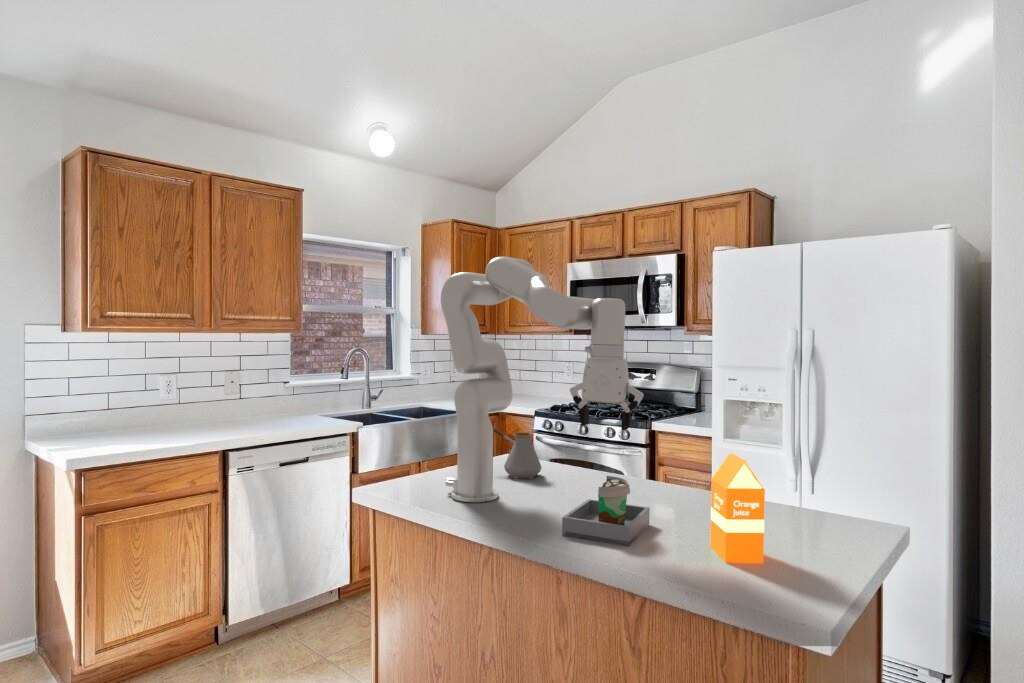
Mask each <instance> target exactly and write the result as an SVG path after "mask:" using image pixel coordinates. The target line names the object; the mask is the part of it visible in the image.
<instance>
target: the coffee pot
mask: <svg viewBox="0 0 1024 683" xmlns="http://www.w3.org/2000/svg"><path fill="white" fill-rule="evenodd" d="M493 433H495V434H496V435H498V436H500V437H501V438H504V439H505V440H506V441H508V442H510V443H512V447H511V449H510V451H509V454H508V457H507V459H506V461H505V463H504V470H505V472H506V473H507V474H508V475H509V477H511V476H512V477H511V478H513V477H516V478H515V479H518V478H529V479H532V478H531V477H534V476H535V477H536V475H538V474H539V473H540V472H541V470H542V464H541V462H540V460H539V458H538V455H537V453H536V452H537V451H536V449H535V447H534V444H533V442H532V440H533V437H534V434H533V433H531V432H516V433H512V436H513V438H514V440H513V439H512V438H510V437H509V436H507V435H505V434H504V433H503V432H501V431H500V430H499V429H497V428H495V427H493ZM535 477H534V478H535Z"/></svg>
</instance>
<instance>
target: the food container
mask: <svg viewBox="0 0 1024 683" xmlns="http://www.w3.org/2000/svg"><path fill="white" fill-rule="evenodd" d="M597 492H598V494H597V497H598V500H599V522H604V523H611V524H617V525H624V524H625V513H626V504H627V500H628V495H629V494H630V493H631V488H630V484H629V482H628V481H627V480H626V479H624V478H622V477H618V476H611V475H606V481H605V482H603V483H602V486H598V490H597Z"/></svg>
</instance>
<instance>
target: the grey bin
mask: <svg viewBox="0 0 1024 683" xmlns="http://www.w3.org/2000/svg"><path fill="white" fill-rule="evenodd" d="M650 511H651V510H650V507H648V506H643V505H642V506H641V505H633V504H627V503H626V513H625V524H624V525H617V524H611V523H604V522H599V499H598V500H597V499H591V498H587V499H586V500H585V501H584V502H582V503H581V504H579V505H578V506H576V507H575V508H574V509H572V510H570V511H569V512H568V513H566V514H565V515H563V516H562V521H561V522H562V523H561V524H562V525H561V536H563V537H570V538H576V539H583V540H588V541H593V542H600V543H605V544H611V545H618V546H625V547H631V545H632V544H633V543H634V542H635V541H636V539H638V538H639V537H640V536H641V534H642V533H643V532H644V531H645V530H646V529H647V528H648V527H649V526H648V525H650V516H651V515H650V514H651V513H650ZM647 526H648V527H647ZM646 527H647V528H646Z"/></svg>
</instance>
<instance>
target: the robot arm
mask: <svg viewBox="0 0 1024 683" xmlns="http://www.w3.org/2000/svg"><path fill="white" fill-rule="evenodd" d="M484 270H485V271H484V273H477V272H466V271H462V272H458V273H454V274H452V275H450V276H449V277H448V278H447V279H446V281H445V282H444V284H443V286H442V288H441V291H440V292H441V293H440V305H441V309H442V310H441V311H442V314H443V317H444V321H445V323H446V327H447V335H448V340H449V345H450V350H451V355H452V356H451V357H452V362H453V365H454V368H455V369H456V371H457V372H458V373H459V374H462V375H480V376H481V377H479V378H477V377H476V378H471V379H470V378H469V379H466V380H464V381H462V382H461V383H460V384H458V385H457V387H456V388H455V390H454V397H453V401H454V407H455V411H456V412H455V413H456V419H457V421H456V422H457V462H456V464H457V466H456V467H457V468H456V469H457V470H456V471H457V472H456V475H457V476H456V477H457V478H453V477H447V478H446V479H445V480H446V481H445V486H446V487H452V488H453V489H452V490H451V493H450V494H451V495H450V497H451V498H452V499H453V500H456V501H458V502H464V503H485V501H487V502H491V501H494V500H496V499H497V498H498V497H499V491H498V490H496V489H495V488H493V486H494V485H493V484H494V483H493V482H494V481H493V479H494V471H493V470H494V432H493V428H494V427H493V424H492V421H491V418H490V415H489V413H496V412H501V411H504V410H506V409H507V408H509V406H510V405H511V404H512V400H513V385H512V380H511V375H510V370H509V369H510V368H509V365H508V359H507V354H506V352H505V349H504V348H503V347H502V345H501V343H499V342H498V341H496V340H494V339H491V338H490V339H488V338H483V337H482V335H481V331H480V325H479V321H478V319H477V317H476V314H475V313H474V312H473V310H472V309H471V307H470V305H476V306H477V305H478V306H479V305H480V306H494V305H498V304H500V303H502V302H503V303H504V301H508V300H509V299H512V298H513V299H515V300H517V301H518V302H521V303H522V304H525V306H526V307H527V309H529V312H531V313H532V314H533V315H534V316H536V317H537V318H540V320H542V321H544V322H546V323H548V324H550V325H552V326H554V327H556V328H558V329H562V330H584V331H585V330H590V344H589V345H588V346H585V347H584V352H585V353H588V354H589V356H590V357H586V360H585V364H584V368H583V376H582V381H581V383H579V384H576V385H574V386H572V387H570V388H569V393H570V394H571V397H572V399H573V401H574V403H575V404H576V405H577V407H578V408H579V422H580V425H581V427H585V426H587V425H589V424H590V423H589V420H590V419H589V418H590V417H589V416H590V408H589V407H588V405H589V404H590V403H591V402H592V403H600V404H601V403H602V404H603V403H604V404H613V405H614V404H615V405H616V404H618V405H619V406H621V408H622V409H623V412H622V413H621V430H622V431H627V430H629V427H631V425H632V424H631V423H632V412H633V411H634V410H635V409H636V408H637V407H638V406H639V405H640V403H641V401H642V400H643V398H644V396H645V395H644V393H643V392H641V391H640V390H638V388H635V387H633V386H632V385H631V384H630V378H629V369H628V361H627V359H626V358H625V359H624V357H625V356H624V355H625V353H624V352H625V329H626V328H625V324H626V303H625V301H624V300H623V299H621V298H615V297H614V298H613V297H612V298H610V297H607V298H606V297H605V298H604V297H603V298H602V297H601V298H596V299H595V298H587V297H580V296H569V295H565V294H563V293H561V292H558V291H557V290H554V289H553V288H551V287H549V283H548V279H547V277H546V276H545V275H544V273H543V274H542V273H541V272H539V271H536V270H535V268H534V266H533V265H532V264H531V263H530V262H529V261H528V260H525V259H521V258H515V257H511V256H497V257H494V258H492V259H490V261H489V262H488V263H487V265H486V267H485V269H484ZM580 390H581V396H580V395H579V391H580ZM630 394H631V395H633V396H634V399H633V401H632V402H631V403H630V402H629V397H630Z"/></svg>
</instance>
